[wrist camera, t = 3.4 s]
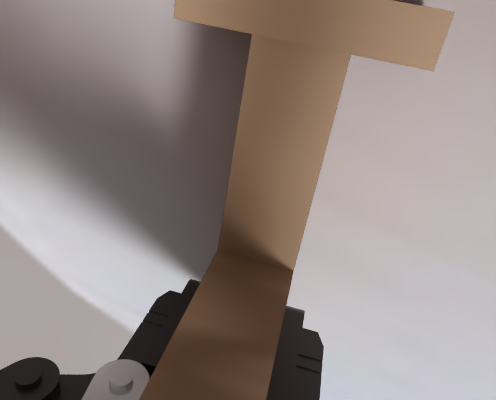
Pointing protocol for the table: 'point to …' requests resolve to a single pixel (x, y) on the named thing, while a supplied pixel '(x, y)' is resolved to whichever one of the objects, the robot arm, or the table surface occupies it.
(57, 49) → the table surface
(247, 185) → the wooden t-shaped piece
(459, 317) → the table surface
